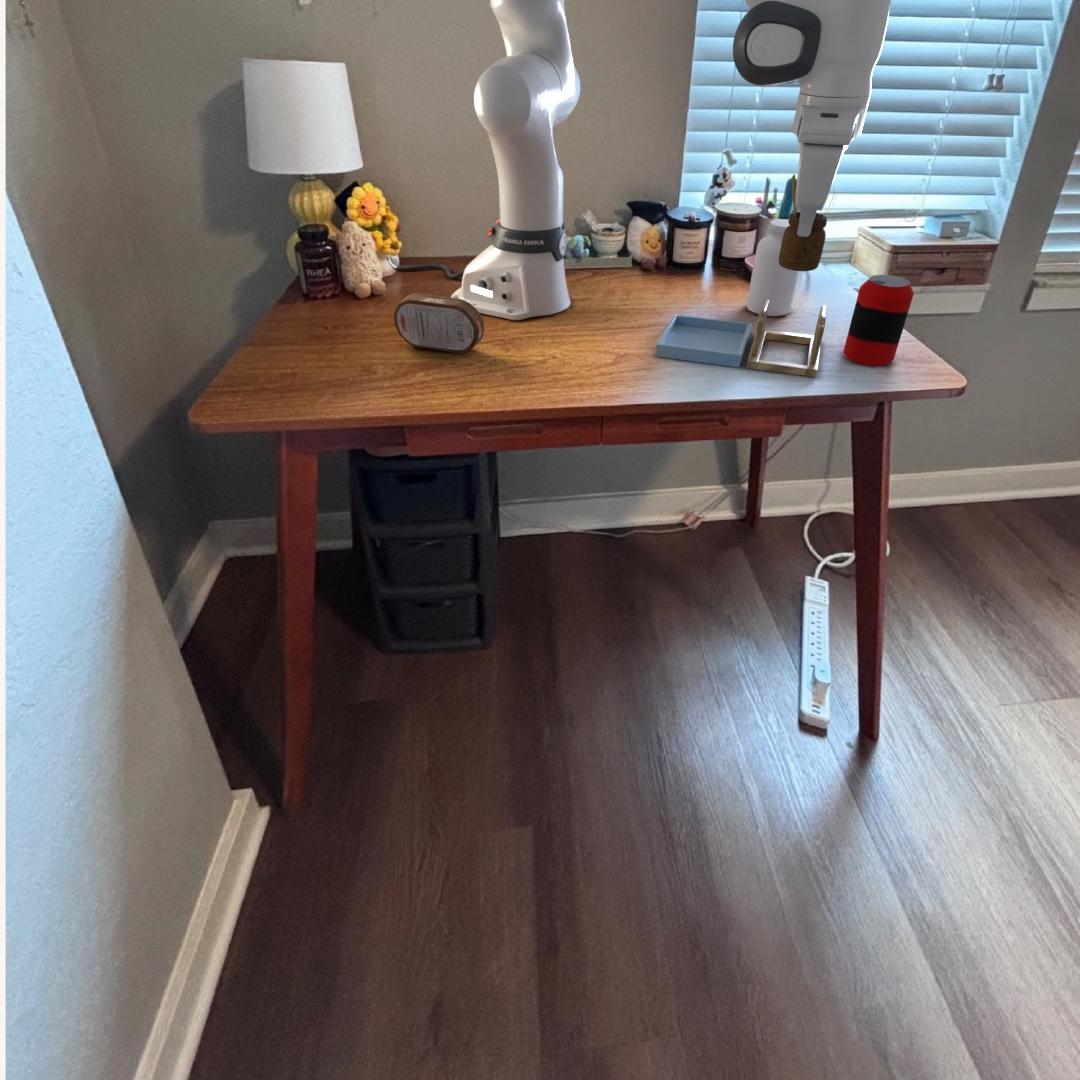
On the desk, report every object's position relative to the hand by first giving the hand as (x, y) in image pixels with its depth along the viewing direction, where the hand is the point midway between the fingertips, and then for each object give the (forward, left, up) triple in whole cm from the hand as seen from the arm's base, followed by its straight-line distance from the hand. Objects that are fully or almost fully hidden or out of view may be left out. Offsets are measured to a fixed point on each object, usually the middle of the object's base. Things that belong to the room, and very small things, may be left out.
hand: (804, 229), depth 104 cm
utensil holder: (0, 0, -5) cm, 5 cm away
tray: (-12, 0, -19) cm, 22 cm away
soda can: (+13, +3, -19) cm, 24 cm away
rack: (+1, 0, -19) cm, 19 cm away
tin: (-53, -16, -19) cm, 58 cm away
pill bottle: (-4, +20, -19) cm, 28 cm away
